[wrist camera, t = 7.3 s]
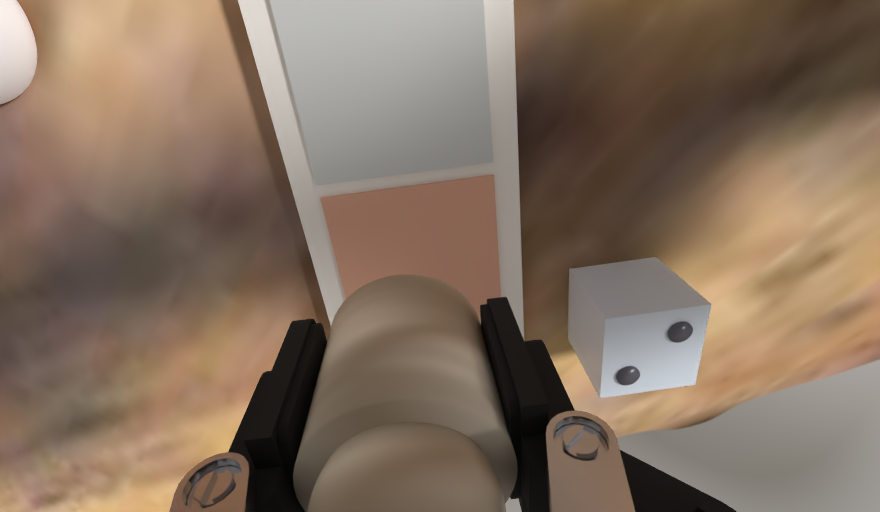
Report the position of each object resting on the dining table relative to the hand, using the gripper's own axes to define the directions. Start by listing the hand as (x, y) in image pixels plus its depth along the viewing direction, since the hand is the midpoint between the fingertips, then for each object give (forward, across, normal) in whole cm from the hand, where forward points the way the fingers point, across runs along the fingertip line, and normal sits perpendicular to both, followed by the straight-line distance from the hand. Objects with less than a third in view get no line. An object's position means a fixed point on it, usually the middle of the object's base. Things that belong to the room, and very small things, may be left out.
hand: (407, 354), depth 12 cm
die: (+16, -13, +10) cm, 23 cm away
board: (+15, 0, -1) cm, 15 cm away
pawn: (+1, 0, 0) cm, 1 cm away
